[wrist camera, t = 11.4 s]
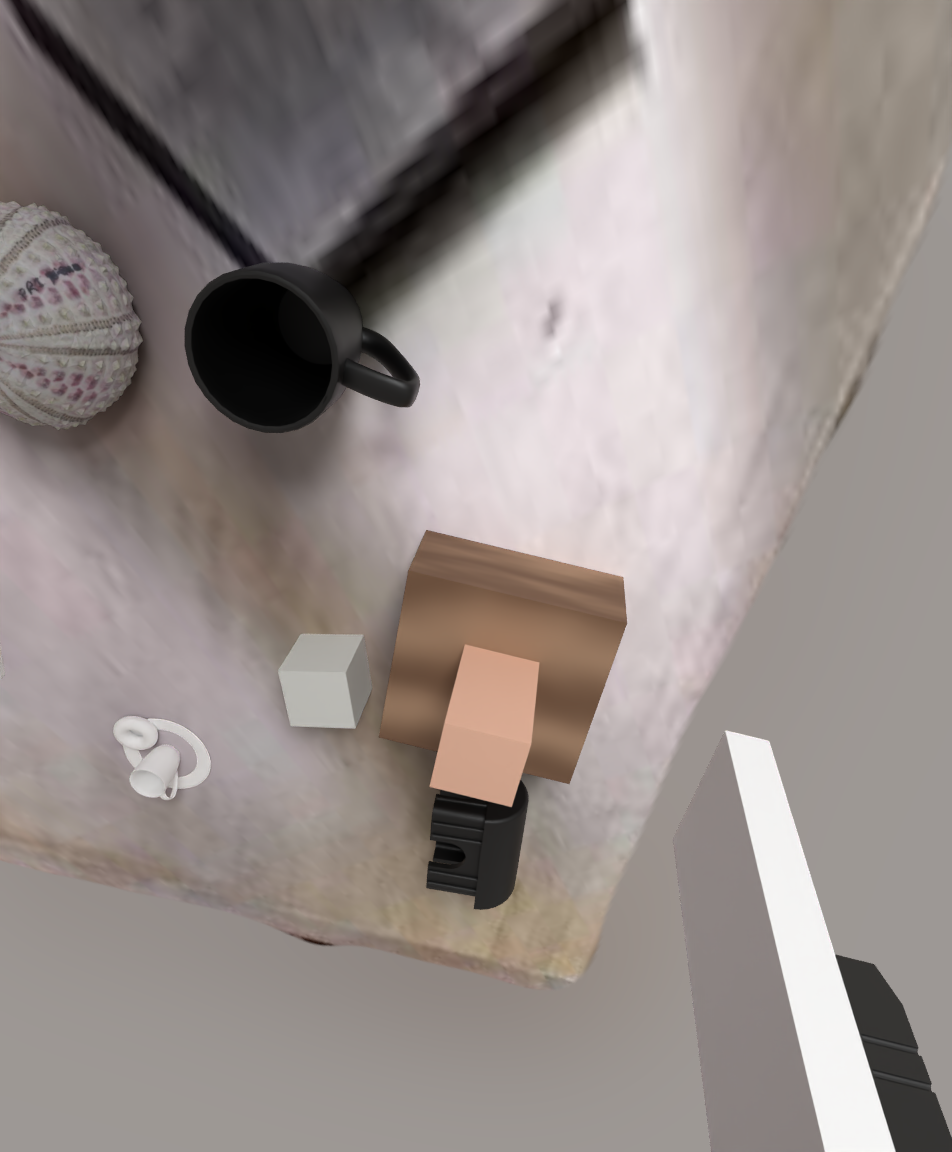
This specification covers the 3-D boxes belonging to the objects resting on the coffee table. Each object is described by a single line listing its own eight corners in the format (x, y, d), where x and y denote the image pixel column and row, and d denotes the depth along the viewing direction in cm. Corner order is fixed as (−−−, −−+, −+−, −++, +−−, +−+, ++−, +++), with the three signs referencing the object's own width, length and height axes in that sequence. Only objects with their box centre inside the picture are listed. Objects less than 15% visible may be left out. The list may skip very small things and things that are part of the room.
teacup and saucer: (110, 707, 65) (83, 738, 61) (196, 707, 64) (173, 739, 60) (142, 784, 69) (117, 817, 65) (223, 785, 68) (203, 819, 64)
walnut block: (426, 530, 52) (408, 570, 47) (623, 577, 52) (627, 623, 47) (397, 686, 59) (378, 737, 54) (571, 729, 59) (569, 784, 54)
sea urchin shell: (-65, 180, 46) (-183, 183, 39) (150, 214, 45) (69, 223, 38) (-22, 395, 52) (-117, 431, 45) (166, 428, 52) (100, 469, 44)
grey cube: (301, 633, 58) (277, 670, 54) (364, 634, 57) (345, 672, 53) (312, 686, 61) (290, 726, 56) (372, 687, 60) (355, 728, 55)
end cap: (518, 850, 66) (511, 917, 60) (438, 837, 67) (424, 902, 61) (532, 764, 61) (526, 828, 56) (446, 751, 62) (431, 812, 56)
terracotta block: (464, 644, 49) (444, 723, 42) (539, 662, 49) (531, 744, 42) (451, 703, 52) (429, 786, 45) (522, 720, 52) (511, 807, 45)
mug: (421, 426, 49) (387, 479, 41) (245, 362, 48) (174, 403, 40) (459, 300, 45) (430, 330, 37) (267, 229, 44) (193, 244, 36)
